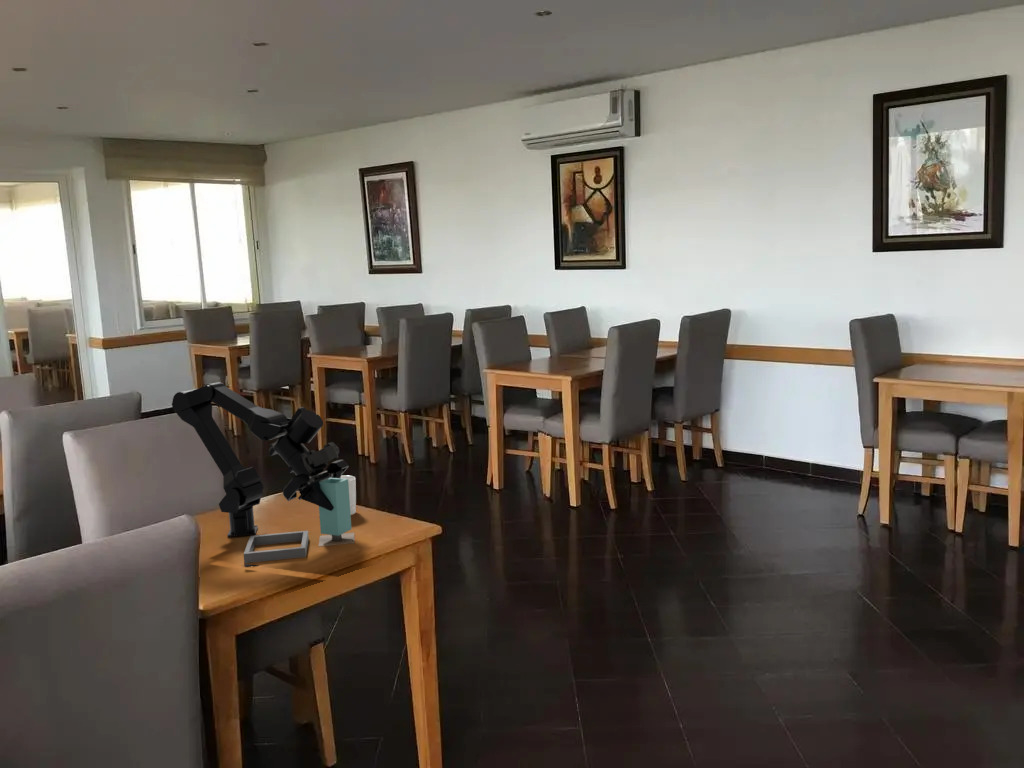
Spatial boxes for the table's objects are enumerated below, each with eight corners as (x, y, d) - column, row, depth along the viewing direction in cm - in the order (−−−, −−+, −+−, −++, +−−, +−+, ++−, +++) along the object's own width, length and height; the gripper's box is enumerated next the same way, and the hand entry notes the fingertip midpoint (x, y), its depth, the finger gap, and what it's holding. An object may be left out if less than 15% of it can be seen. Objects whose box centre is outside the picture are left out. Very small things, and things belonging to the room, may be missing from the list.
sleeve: (320, 533, 199) (317, 482, 197) (333, 527, 203) (330, 477, 201) (338, 535, 196) (335, 484, 195) (351, 529, 201) (348, 479, 199)
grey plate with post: (320, 539, 203) (318, 523, 203) (354, 536, 205) (353, 520, 204) (318, 550, 196) (317, 533, 195) (354, 547, 197) (353, 530, 196)
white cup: (320, 520, 220) (318, 482, 218) (337, 511, 227) (334, 474, 225) (347, 522, 217) (344, 483, 215) (363, 513, 224) (361, 476, 223)
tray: (251, 548, 199) (250, 535, 199) (309, 542, 201) (308, 530, 201) (244, 567, 187) (243, 553, 186) (306, 561, 189) (305, 547, 188)
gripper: (289, 442, 190) (333, 494, 187) (339, 426, 207) (381, 474, 204) (263, 474, 194) (307, 526, 191) (315, 456, 211) (355, 503, 208)
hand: (339, 506), depth 198 cm, fingers closed on sleeve, 5 cm apart
